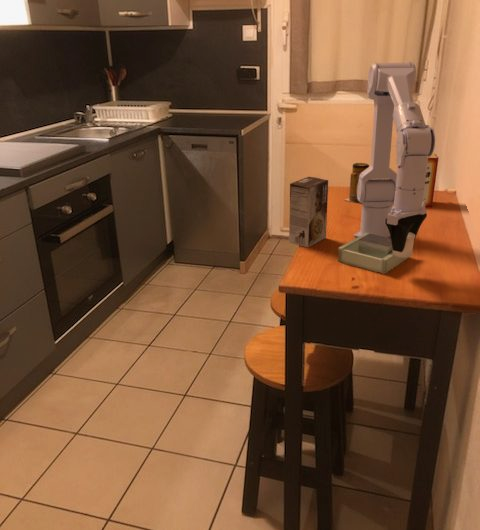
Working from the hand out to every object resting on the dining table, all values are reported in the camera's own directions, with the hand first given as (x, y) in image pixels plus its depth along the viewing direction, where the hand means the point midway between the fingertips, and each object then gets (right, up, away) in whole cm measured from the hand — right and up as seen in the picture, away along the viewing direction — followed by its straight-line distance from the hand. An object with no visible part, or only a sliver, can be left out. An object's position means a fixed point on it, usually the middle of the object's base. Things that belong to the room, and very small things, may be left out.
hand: (402, 247), depth 112 cm
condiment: (+5, +18, +59) cm, 61 cm away
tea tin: (-3, -2, +10) cm, 11 cm away
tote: (-3, -3, +11) cm, 12 cm away
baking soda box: (+21, +16, +54) cm, 60 cm away
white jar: (0, -1, +1) cm, 2 cm away
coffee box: (-18, +2, +24) cm, 30 cm away
